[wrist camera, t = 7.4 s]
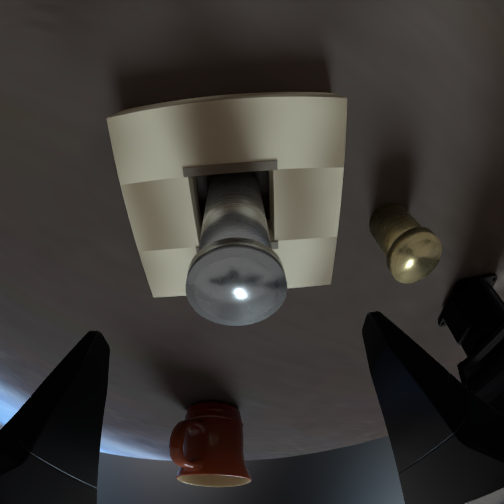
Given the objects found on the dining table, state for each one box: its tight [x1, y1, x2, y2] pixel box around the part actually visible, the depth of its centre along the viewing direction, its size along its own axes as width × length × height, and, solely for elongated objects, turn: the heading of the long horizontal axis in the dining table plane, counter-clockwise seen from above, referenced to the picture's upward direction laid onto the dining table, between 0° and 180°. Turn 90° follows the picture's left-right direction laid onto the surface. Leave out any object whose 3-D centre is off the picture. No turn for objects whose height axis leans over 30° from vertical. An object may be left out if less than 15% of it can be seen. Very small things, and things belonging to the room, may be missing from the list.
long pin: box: [186, 172, 287, 326], centre depth 15 cm, size 4×4×9 cm
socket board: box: [107, 92, 347, 297], centre depth 17 cm, size 12×12×3 cm
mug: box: [169, 401, 251, 487], centre depth 30 cm, size 12×9×10 cm
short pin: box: [369, 203, 442, 283], centre depth 19 cm, size 4×4×5 cm
